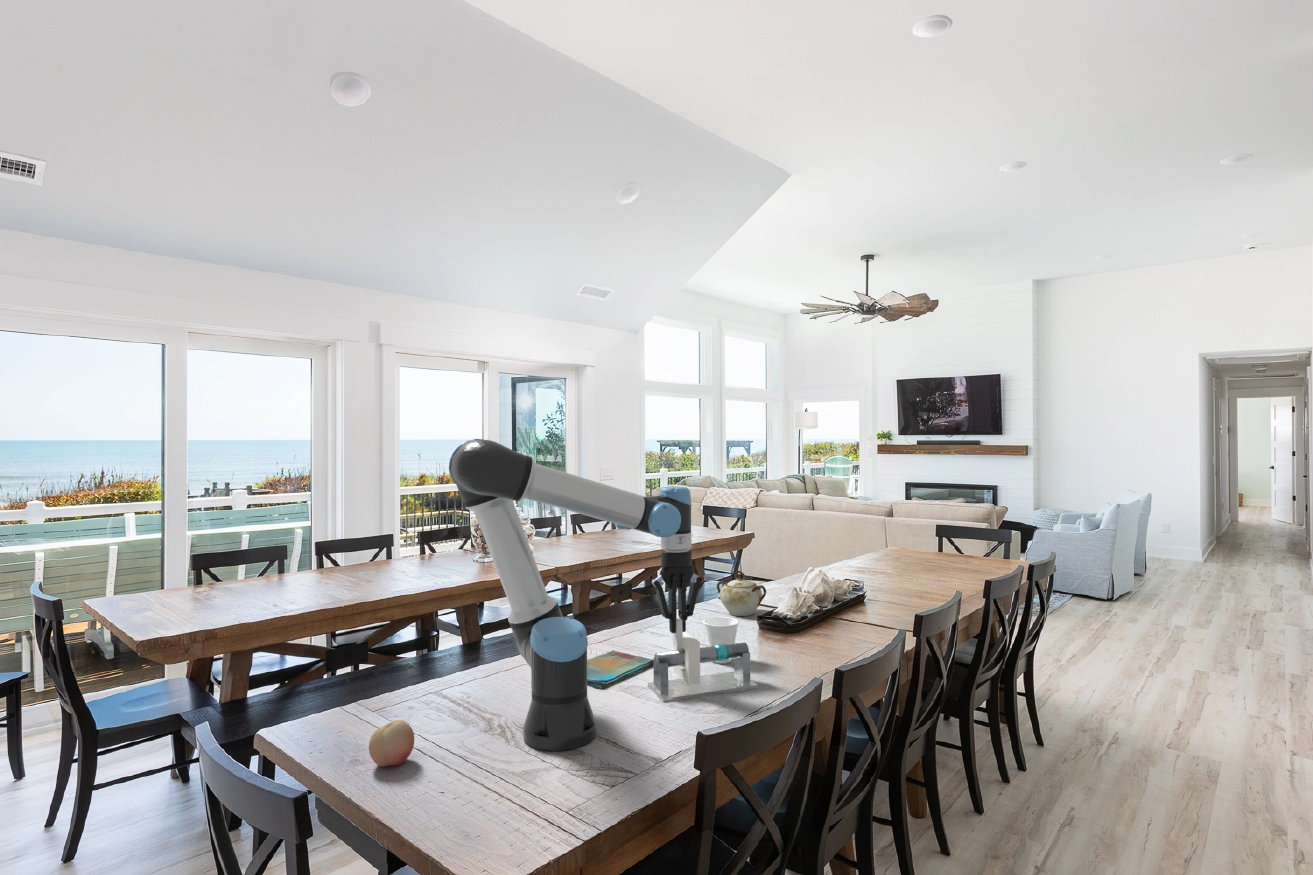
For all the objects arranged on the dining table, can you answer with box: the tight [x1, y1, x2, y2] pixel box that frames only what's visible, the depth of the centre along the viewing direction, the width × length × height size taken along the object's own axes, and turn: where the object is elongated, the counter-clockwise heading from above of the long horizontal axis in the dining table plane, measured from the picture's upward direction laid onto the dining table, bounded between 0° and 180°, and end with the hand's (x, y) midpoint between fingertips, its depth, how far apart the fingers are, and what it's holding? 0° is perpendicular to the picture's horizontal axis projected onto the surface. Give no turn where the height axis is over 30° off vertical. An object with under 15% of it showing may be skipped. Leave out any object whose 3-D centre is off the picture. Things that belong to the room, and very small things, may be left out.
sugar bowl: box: [716, 570, 767, 617], centre depth 245 cm, size 20×15×15 cm
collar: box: [673, 631, 701, 685], centre depth 173 cm, size 3×10×10 cm, turn 19°
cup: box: [702, 616, 740, 665], centre depth 195 cm, size 10×10×11 cm
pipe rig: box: [647, 642, 759, 703], centre depth 174 cm, size 25×11×10 cm, turn 110°
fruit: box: [368, 719, 415, 768], centre depth 135 cm, size 8×8×8 cm
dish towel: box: [587, 650, 653, 690], centre depth 188 cm, size 17×23×2 cm
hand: (677, 645), depth 172 cm, fingers closed
